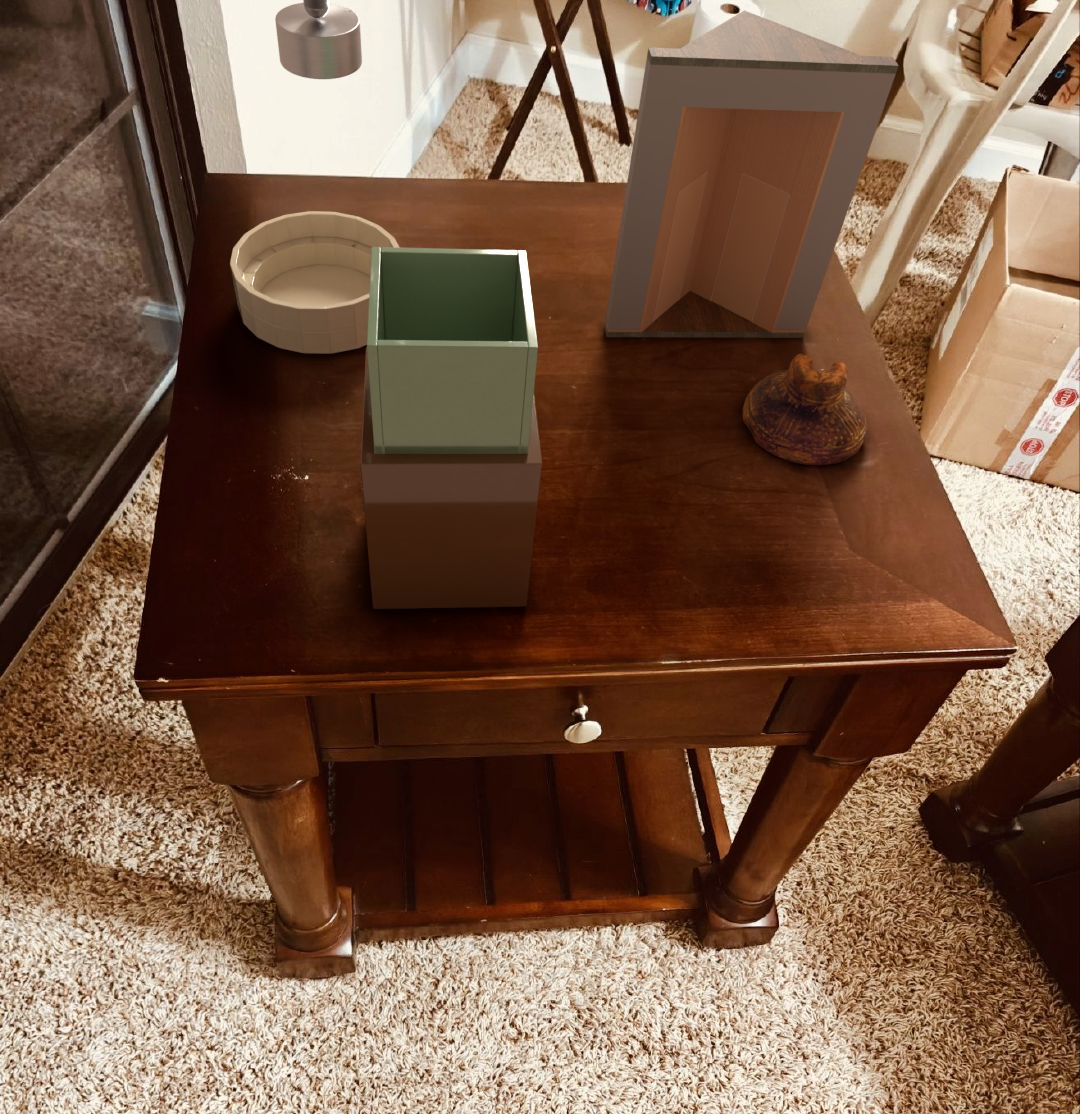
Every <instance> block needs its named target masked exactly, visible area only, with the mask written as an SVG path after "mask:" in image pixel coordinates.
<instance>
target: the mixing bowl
mask: <svg viewBox="0 0 1080 1114" xmlns="http://www.w3.org/2000/svg"><path fill="white" fill-rule="evenodd" d="M372 247H395V248H401V247H400V245H399V244H398V242H397V240H396V238H395V237H394V236H393V235H392V234H390V233H389V232H388V231H387V230H386V229H385V228H383V227H382V226H380V225H379V224H376V223H375V222H372V221H370V220H368V219H365V218H364V217H361V216H357V215H352V214H348V213H343V212H338V211H324V210H323V211H322V210H321V211H317V210H313V211H312V210H307V211H302V212H294V213H288V214H283V215H280V216H277V217H274V218H271V219H269V220H266V221H263V222H261V223H259V224H258V225H256V226H255V227H254V228H251V229H250V230H248V231H247V232H245V233H244V234H243V235H242V236H241V237H240V239H239V240H238V241H237V242H236V244H234V246H233V248H232V250H231V251H232V252H231V257H230V260H229V261H230V262H229V266H230V271H231V277H232V283H233V289H234V293H235V299H236V303H237V308H238V312H239V315H240V317H241V320H242V323H243V325H245V327H247V329H248V330H249V331H251V332H252V334H253V335H254V336H255V337H256V338H258V339H259V340H262V341H264V342H266V343H268V344H270V345H272V346H274V347H275V348H279V349H282V350H288V351H291V352H295V353H301V354H322V355H323V354H324V355H325V354H328V355H329V354H337V353H341V352H347V351H353V350H358V349H360V348H363V347H364V346H367V335H368V314H369V293H370V273H371V252H372Z"/></svg>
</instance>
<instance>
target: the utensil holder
mask: <svg viewBox="0 0 1080 1114" xmlns="http://www.w3.org/2000/svg"><path fill="white" fill-rule="evenodd" d="M528 261H529V260H528V254H527V250H523V249H520V250H519V249H518V250H516V249H484V248H483V249H481V248H480V249H479V248H478V249H477V248H440V247H439V248H438V247H437V248H433V247H431V248H430V247H400V248H395V247H372V252H371V273H370V293H369V314H368V335H367V345H366V348H365V361H364V363H365V364H364V381H363V382H364V383H363V384H364V385H363V401H362V402H363V405H362V424H361V441H360V442H361V445H360V474H361V476H360V477H361V486H362V487H361V488H362V498H363V509H364V510H363V511H364V521H365V532H366V544H367V545H366V546H367V555H368V557H367V558H368V566H369V580H370V591H371V592H370V593H371V601H372V610H403V609H404V610H406V609H407V610H408V609H462V608H463V609H464V608H466V609H468V608H470V609H471V608H517V607H519V608H520V607H521V608H522V607H523V608H524V607H527V603H528V595H529V586H530V578H531V568H532V559H533V551H534V544H535V543H534V541H535V534H536V533H535V532H536V524H537V515H538V507H539V506H538V505H539V498H540V488H541V479H542V471H543V458H542V449H541V440H540V431H539V423H538V415H537V414H538V413H537V405H536V404H537V403H536V395H535V385H536V375H537V364H538V355H539V344H538V333H537V326H536V319H535V311H534V303H533V302H534V301H533V294H532V286H531V278H530V269H529V262H528Z"/></svg>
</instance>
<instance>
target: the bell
mask: <svg viewBox="0 0 1080 1114" xmlns="http://www.w3.org/2000/svg"><path fill="white" fill-rule="evenodd" d="M848 377H849V369H848V367H847V365H846V364H845V363H844V362H842V361H841V362H840V361H836V362H833V364H832V365H831V368H830V369H829V371H825V372H819V371H817V370H814V361H813V358H811V357H810V356H809V355H807V354H805V353H799V354H797V355H795V356H793V358H792V360H791V362H790V364H789V365H788V368H787V369H783V370H777V371H775V372H772V373H770V374H769V375H767V376H765V377H764V378H762V379H761V380H759V381H758V382H757V383H755V384H754V385H753V386H752V388H751V389H750V391H749V392H748V394H747V395H746V398H745V400H744V403H743V407H742V420H743V424H744V425H745V426H746V427H747V428H748V430H749V433H750V434H751V435H752V438H753V439H754V441H755V443H756V444H757V445H758V446H759V447H761V448H762V449H764V450H765V451H766V452H767V453H769V454H772V456H775V457H777V458H779V459H781V460H784V461H788V462H791V463H794V464H800V465H807V466H827V465H835V464H839V463H843V462H844V461H847V460H848V459H850V458H852V457H853V456H854V455H856V454H857V453H858V452H859V450H860V449H861V448H862V446H863V444H864V441H865V439H866V435H867V429H868V428H867V427H868V423H867V419H866V415H865V411H864V408H863V406H862V404H861V401H860V400H859V399H858V397H857V396H856V395H855V394H854V393H853V392H852V390H850V388H849V387H847V382H848V379H849V378H848Z"/></svg>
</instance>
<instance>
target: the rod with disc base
mask: <svg viewBox="0 0 1080 1114" xmlns="http://www.w3.org/2000/svg"><path fill="white" fill-rule="evenodd" d="M274 21H275V29H276V37H277V38H276V39H277V47H278V56H279V62H280V65H281V66H282V68H283V69H285V70H286V71H288V72H289V73H291V74H292V75H295V76H298V77H301V78H305V79H311V80H312V79H313V80H335V79H341V78H344V77H347V76H350V75H352V74H354V73H356V72H357V71H358V70H359V69H360V68H361V66H362V63H363V56H362V54H363V53H362V35H361V34H362V33H361V19H360V17H359V15H358V14H357V13H356V12H355V11H354V10H352V9H350V8H349V7H347V6H344V5H340V4H336V3H332V2H330V0H302V2H299V3H294V4H291V5H290V4H289V5H287V6H285V7H283V8H282V9H280V10H279V11H278V12H277V13H276V14H275V20H274Z"/></svg>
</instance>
